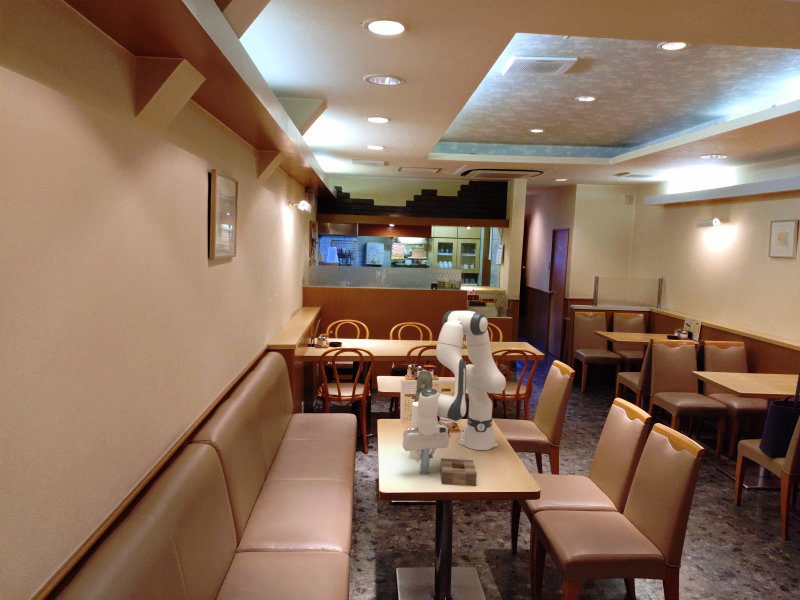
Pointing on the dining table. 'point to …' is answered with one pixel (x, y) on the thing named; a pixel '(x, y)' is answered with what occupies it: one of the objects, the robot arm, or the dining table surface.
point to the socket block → (458, 472)
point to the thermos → (423, 383)
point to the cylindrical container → (414, 425)
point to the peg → (425, 461)
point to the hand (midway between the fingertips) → (425, 458)
